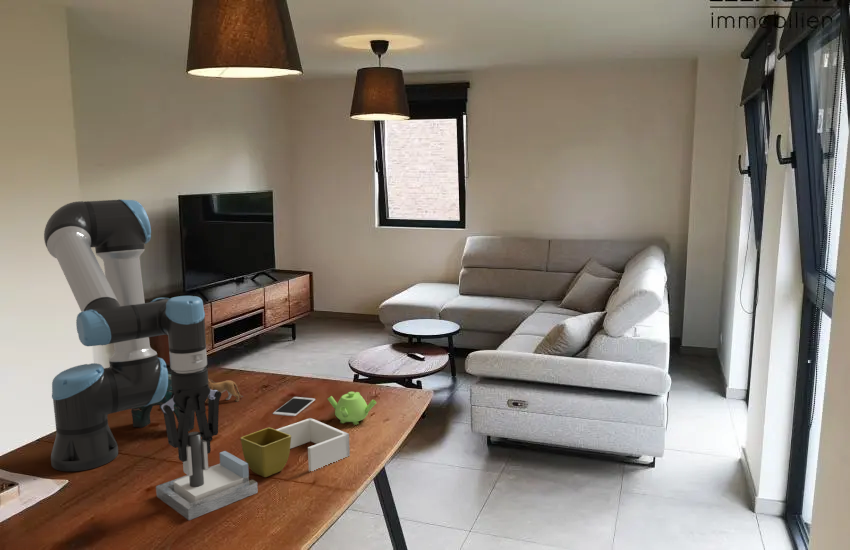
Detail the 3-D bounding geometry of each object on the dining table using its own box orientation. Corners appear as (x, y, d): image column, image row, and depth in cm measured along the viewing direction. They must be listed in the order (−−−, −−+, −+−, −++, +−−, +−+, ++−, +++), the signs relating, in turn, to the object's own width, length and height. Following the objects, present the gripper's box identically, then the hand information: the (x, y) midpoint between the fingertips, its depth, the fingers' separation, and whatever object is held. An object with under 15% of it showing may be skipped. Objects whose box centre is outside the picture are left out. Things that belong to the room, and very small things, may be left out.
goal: (311, 472, 163) (310, 448, 162) (273, 452, 174) (272, 430, 173) (349, 456, 171) (349, 433, 170) (311, 439, 182) (310, 417, 181)
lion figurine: (197, 409, 205) (195, 381, 203) (193, 404, 209) (191, 376, 208) (245, 400, 212) (244, 373, 211) (240, 395, 217) (239, 368, 215)
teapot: (362, 410, 203) (361, 383, 201) (378, 423, 193) (377, 395, 191) (326, 417, 197) (326, 389, 196) (341, 431, 188) (340, 401, 186)
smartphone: (316, 398, 213) (294, 415, 199) (316, 400, 213) (294, 417, 199) (294, 396, 215) (271, 413, 200) (294, 398, 215) (271, 415, 201)
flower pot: (270, 460, 169) (269, 426, 168) (293, 470, 164) (292, 435, 162) (241, 472, 162) (239, 437, 161) (264, 483, 157) (262, 447, 156)
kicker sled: (196, 509, 145) (191, 444, 142) (174, 493, 151) (169, 432, 149) (249, 488, 154) (246, 427, 151) (226, 474, 161) (223, 416, 158)
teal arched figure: (125, 428, 191) (119, 359, 188) (140, 419, 197) (134, 353, 194) (187, 434, 186) (182, 364, 183) (200, 425, 192) (196, 357, 189)
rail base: (189, 520, 141) (188, 509, 140) (156, 496, 151) (155, 486, 151) (257, 492, 153) (257, 482, 152) (223, 472, 163) (222, 462, 162)
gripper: (160, 380, 137) (168, 489, 141) (231, 363, 148) (237, 464, 152) (144, 373, 142) (152, 477, 146) (214, 357, 154) (220, 454, 157)
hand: (196, 470), depth 149 cm, fingers closed on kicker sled, 3 cm apart
